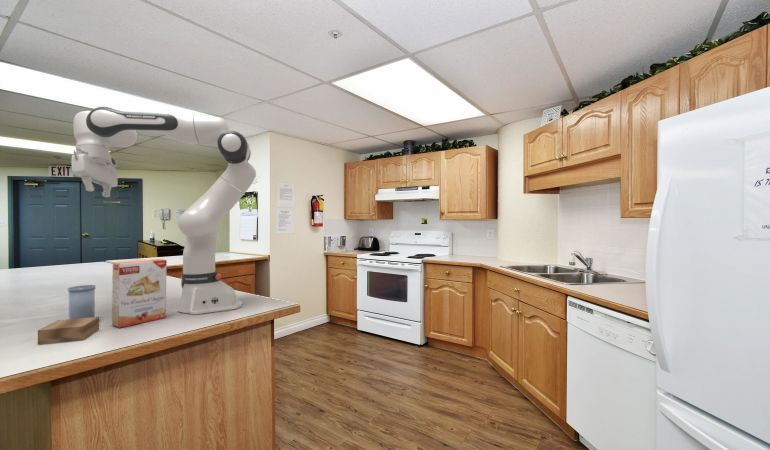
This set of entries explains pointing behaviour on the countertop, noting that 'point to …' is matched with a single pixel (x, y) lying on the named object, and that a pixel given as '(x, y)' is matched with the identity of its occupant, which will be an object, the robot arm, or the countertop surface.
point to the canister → (81, 301)
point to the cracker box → (138, 291)
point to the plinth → (68, 330)
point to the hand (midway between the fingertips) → (98, 193)
